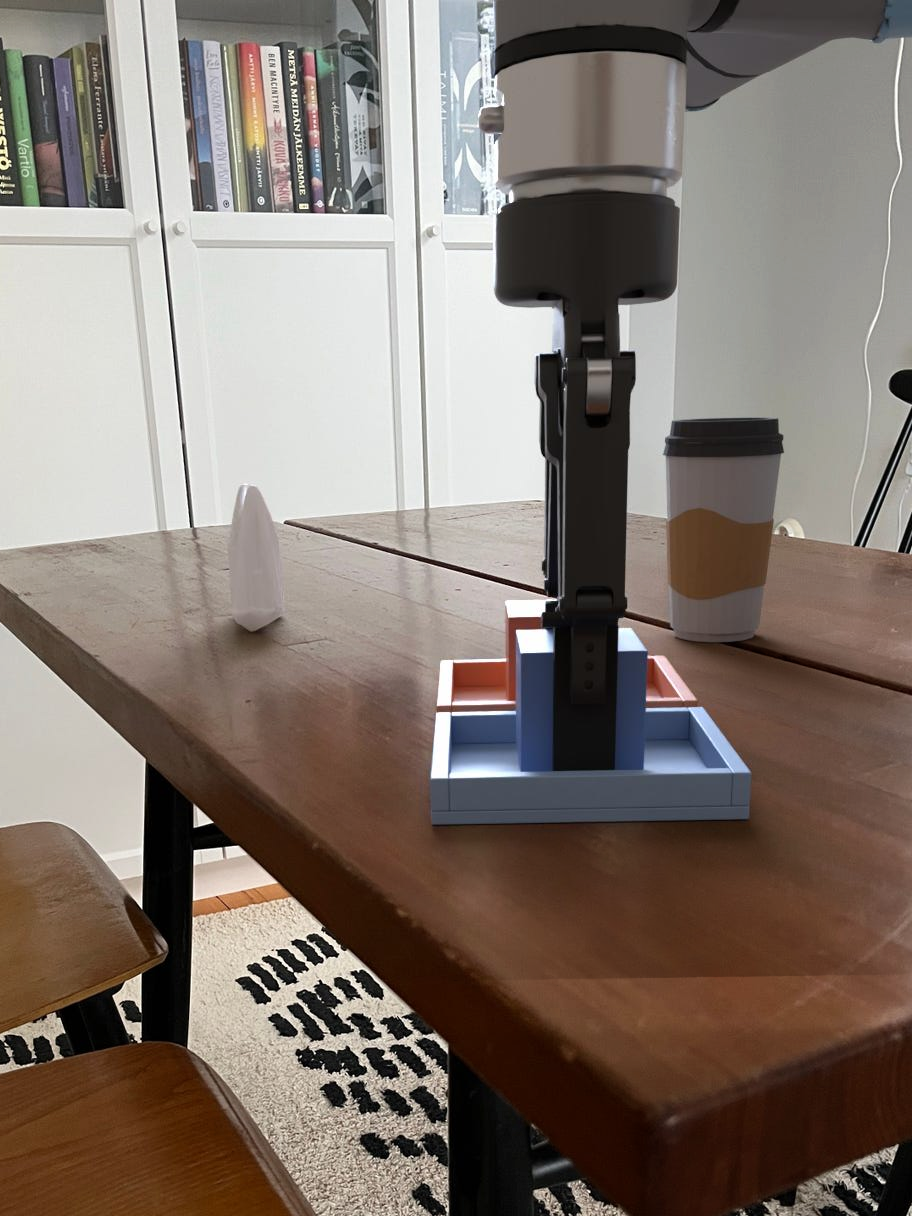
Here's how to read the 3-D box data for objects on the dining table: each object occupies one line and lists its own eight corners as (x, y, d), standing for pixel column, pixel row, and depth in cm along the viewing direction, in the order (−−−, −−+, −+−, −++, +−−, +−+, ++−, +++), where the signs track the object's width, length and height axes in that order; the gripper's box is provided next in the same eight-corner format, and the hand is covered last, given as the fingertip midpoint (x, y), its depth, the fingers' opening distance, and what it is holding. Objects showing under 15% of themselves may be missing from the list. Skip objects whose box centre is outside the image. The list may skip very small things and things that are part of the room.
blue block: (628, 740, 62) (632, 627, 60) (643, 772, 56) (648, 650, 54) (515, 742, 62) (515, 629, 60) (520, 774, 57) (520, 653, 55)
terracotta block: (599, 692, 74) (601, 598, 72) (609, 715, 69) (611, 614, 67) (505, 694, 74) (505, 600, 72) (509, 717, 69) (508, 617, 67)
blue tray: (701, 746, 65) (703, 706, 64) (749, 819, 54) (752, 772, 53) (436, 751, 65) (435, 712, 64) (431, 825, 54) (430, 778, 54)
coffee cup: (788, 629, 94) (803, 416, 89) (747, 649, 87) (760, 421, 82) (684, 621, 98) (692, 417, 93) (637, 639, 92) (643, 422, 87)
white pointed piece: (286, 635, 97) (277, 486, 93) (232, 638, 97) (219, 488, 93) (284, 610, 108) (275, 476, 104) (235, 612, 108) (224, 478, 104)
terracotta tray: (663, 689, 77) (665, 655, 76) (696, 739, 66) (698, 700, 65) (441, 694, 77) (440, 660, 77) (437, 744, 66) (436, 705, 66)
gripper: (489, 227, 60) (493, 706, 68) (499, 162, 42) (502, 816, 50) (648, 222, 59) (633, 703, 68) (723, 155, 42) (691, 813, 50)
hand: (577, 750), depth 59 cm, fingers closed on blue block, 5 cm apart
